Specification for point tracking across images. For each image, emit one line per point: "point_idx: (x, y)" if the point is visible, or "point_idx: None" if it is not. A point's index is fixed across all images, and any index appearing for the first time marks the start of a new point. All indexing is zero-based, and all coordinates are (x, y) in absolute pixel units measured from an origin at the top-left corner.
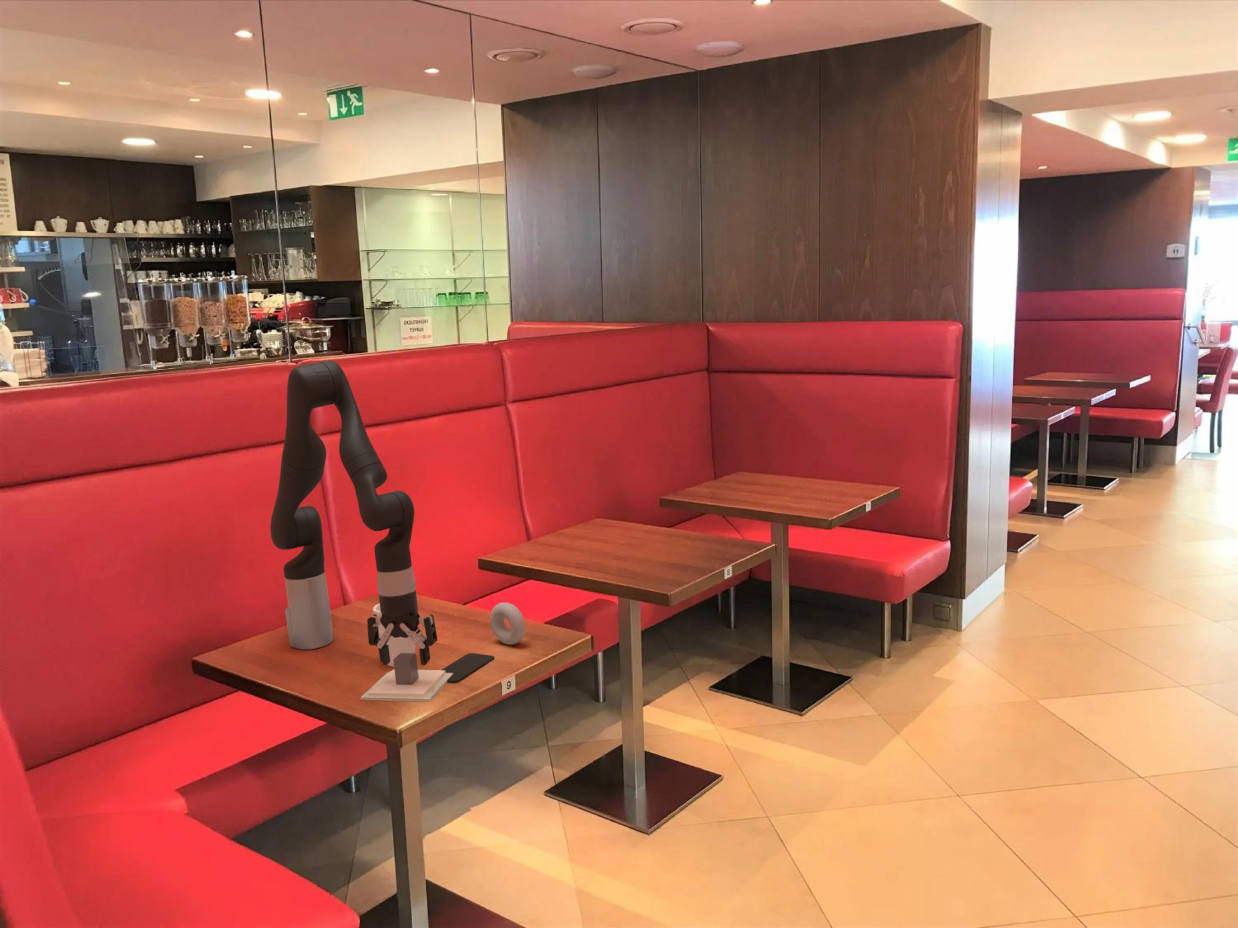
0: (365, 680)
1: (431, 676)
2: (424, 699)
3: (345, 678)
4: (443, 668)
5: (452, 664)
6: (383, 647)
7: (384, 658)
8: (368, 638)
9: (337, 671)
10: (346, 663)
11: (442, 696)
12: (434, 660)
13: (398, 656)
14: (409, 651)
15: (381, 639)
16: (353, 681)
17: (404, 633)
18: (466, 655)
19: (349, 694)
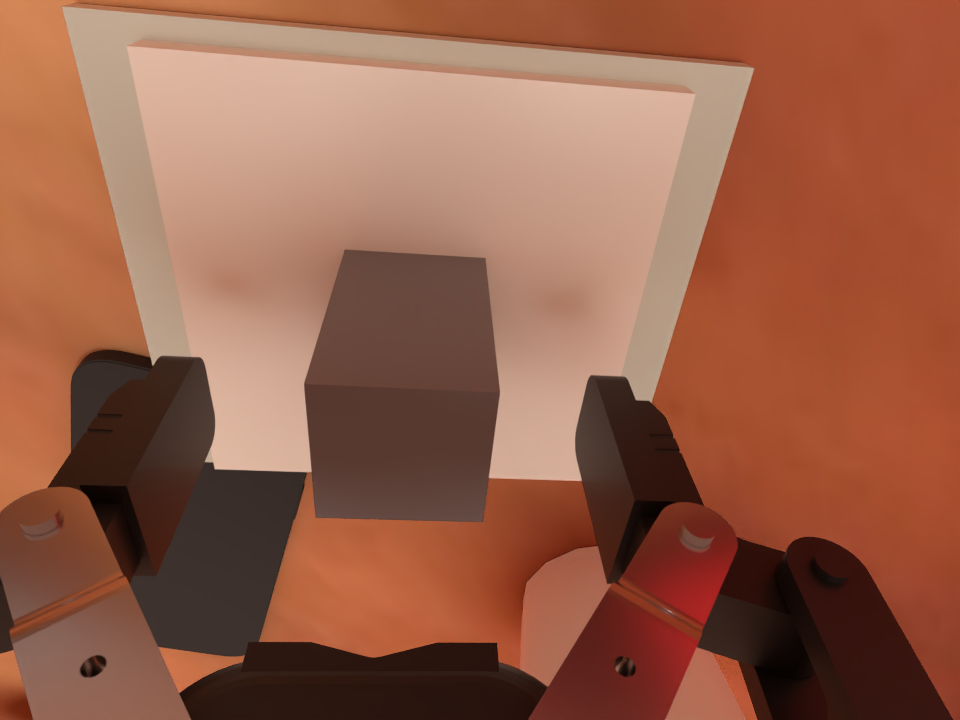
0: (759, 391)
1: (263, 386)
2: (120, 12)
3: (894, 416)
4: (290, 517)
5: (264, 557)
6: (645, 523)
7: (611, 413)
8: (897, 625)
9: (945, 494)
10: (895, 569)
11: (34, 122)
12: (410, 599)
13: (470, 455)
14: (537, 635)
15: (688, 610)
16: (838, 378)
17: (271, 715)
18: (248, 637)
19: (853, 177)
